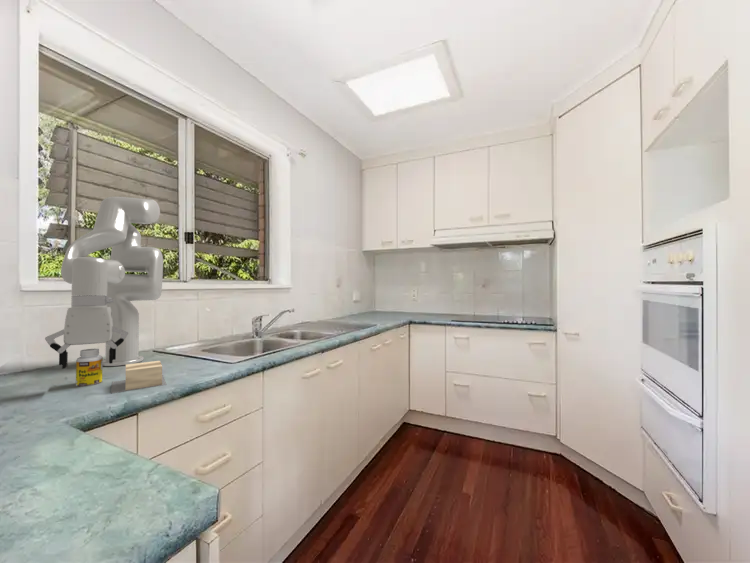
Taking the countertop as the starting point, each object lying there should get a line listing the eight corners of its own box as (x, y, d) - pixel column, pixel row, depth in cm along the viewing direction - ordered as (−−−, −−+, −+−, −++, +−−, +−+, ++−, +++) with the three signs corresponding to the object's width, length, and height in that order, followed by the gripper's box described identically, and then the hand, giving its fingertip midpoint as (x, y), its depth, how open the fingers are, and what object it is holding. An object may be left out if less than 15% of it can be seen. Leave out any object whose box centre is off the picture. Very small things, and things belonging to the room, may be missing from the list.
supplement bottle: (73, 391, 89) (74, 352, 89) (77, 386, 93) (78, 349, 93) (101, 387, 92) (101, 350, 92) (103, 382, 96) (103, 347, 96)
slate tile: (112, 385, 94) (112, 381, 94) (162, 378, 101) (162, 374, 101) (110, 397, 84) (110, 393, 84) (166, 388, 91) (166, 384, 91)
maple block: (125, 382, 93) (125, 364, 93) (159, 377, 98) (159, 360, 98) (125, 390, 87) (125, 370, 87) (162, 384, 92) (162, 366, 92)
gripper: (128, 301, 101) (127, 358, 100) (48, 302, 90) (47, 367, 90) (128, 301, 94) (127, 363, 94) (43, 303, 84) (41, 372, 84)
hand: (88, 365), depth 92 cm, fingers open, 9 cm apart
